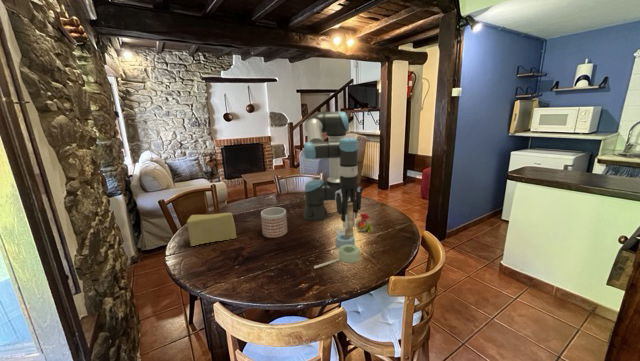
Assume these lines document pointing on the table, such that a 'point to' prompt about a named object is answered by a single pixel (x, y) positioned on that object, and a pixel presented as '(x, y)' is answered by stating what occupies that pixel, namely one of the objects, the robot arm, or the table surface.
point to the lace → (326, 263)
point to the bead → (349, 253)
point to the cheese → (211, 228)
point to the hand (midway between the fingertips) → (349, 226)
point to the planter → (274, 222)
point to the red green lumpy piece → (361, 224)
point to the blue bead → (344, 240)
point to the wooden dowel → (349, 220)
